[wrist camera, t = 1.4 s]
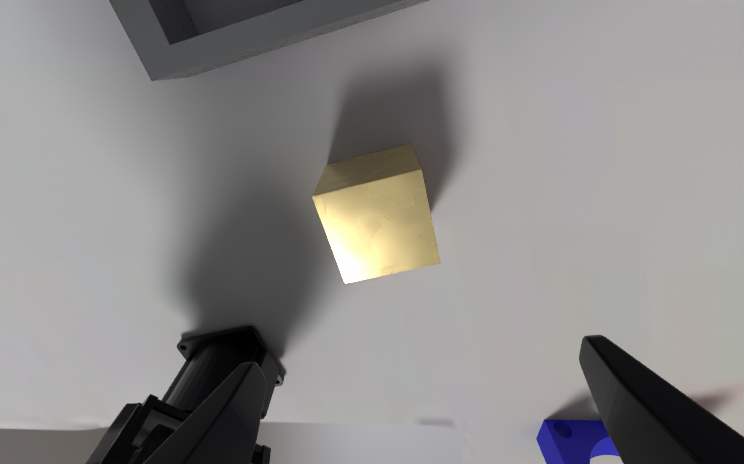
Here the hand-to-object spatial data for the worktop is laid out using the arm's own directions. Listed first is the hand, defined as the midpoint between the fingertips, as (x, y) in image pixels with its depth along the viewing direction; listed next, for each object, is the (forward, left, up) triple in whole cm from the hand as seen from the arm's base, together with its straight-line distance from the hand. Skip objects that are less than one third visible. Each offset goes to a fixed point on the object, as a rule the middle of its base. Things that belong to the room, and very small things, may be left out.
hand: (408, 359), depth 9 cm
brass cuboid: (-1, 0, -12) cm, 12 cm away
